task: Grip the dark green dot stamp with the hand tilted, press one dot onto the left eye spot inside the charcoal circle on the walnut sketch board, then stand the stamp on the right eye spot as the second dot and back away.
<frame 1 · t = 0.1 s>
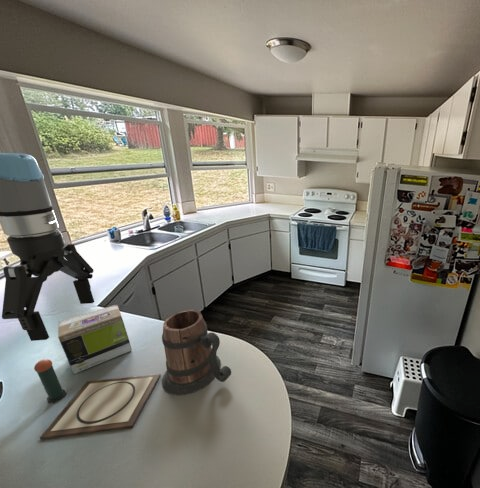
hand: (66, 319, 58), 29 cm above the table, tool pointing down, fingers open, 13 cm apart
tea box: (103, 354, 85), on the table
dot stamp: (57, 397, 70), on the table
tankard: (200, 375, 79), on the table
sketch board: (108, 403, 69), on the table
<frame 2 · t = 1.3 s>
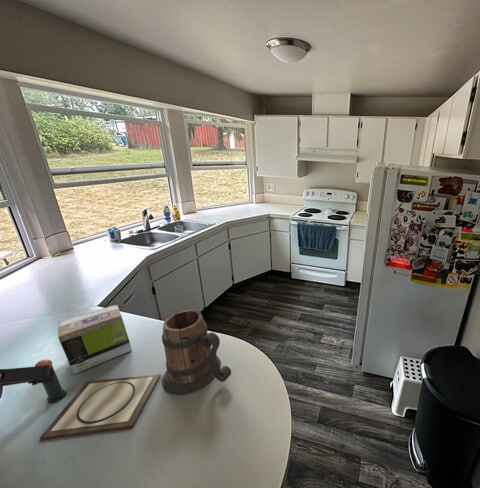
hand: (10, 385, 56), 16 cm above the table, tool tilted 45°, fingers open, 13 cm apart
nothing on the table moved.
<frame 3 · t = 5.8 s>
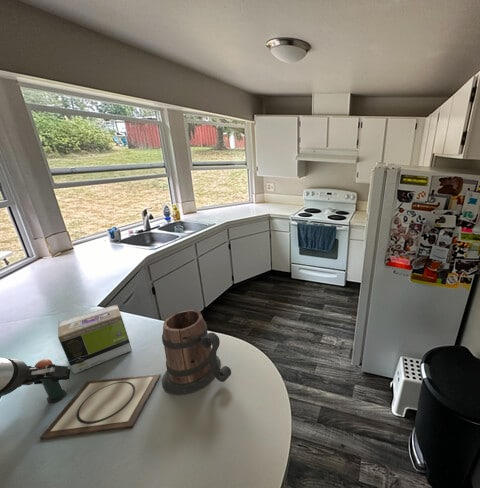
hand: (60, 376, 72), 4 cm above the table, tool tilted 45°, fingers closed on dot stamp, 3 cm apart
dot stamp: (57, 397, 70), on the table, touching gripper
everything else where it was.
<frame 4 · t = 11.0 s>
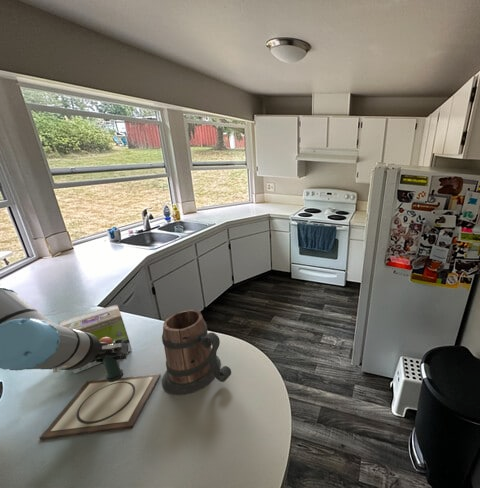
hand: (117, 355, 72), 11 cm above the table, tool tilted 45°, fingers closed on dot stamp, 3 cm apart
dot stamp: (115, 376, 69), point 7 cm above the table, touching gripper
everything else where it was.
when the fingers open (5 cm above the table, at t = 16.5 s): dot stamp stays where it is, resting on sketch board.
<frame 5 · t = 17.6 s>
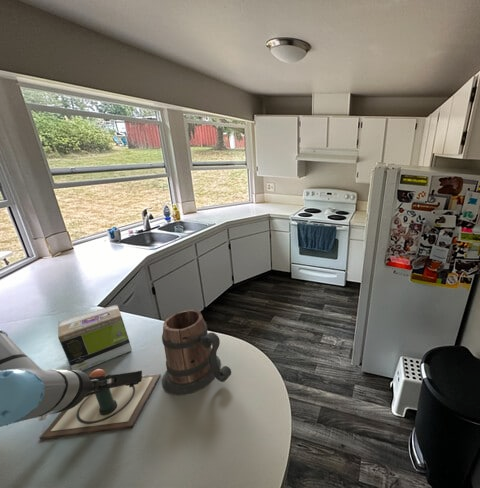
hand: (106, 386, 67), 7 cm above the table, tool tilted 45°, fingers open, 13 cm apart
dot stamp: (108, 408, 66), point 1 cm above the table, touching sketch board
everything else where it was.
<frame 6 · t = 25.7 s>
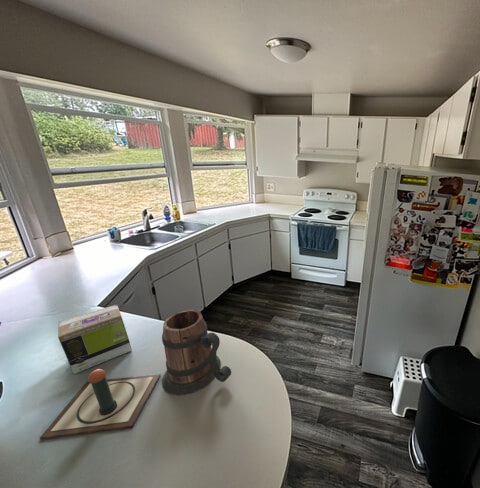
nothing on the table moved.
at the end: dot stamp 0.2 cm from the target spot on the sketch board, point 1.2 cm above the sketch board's base; dot stamp tilted 0°; the gripper is holding nothing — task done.
